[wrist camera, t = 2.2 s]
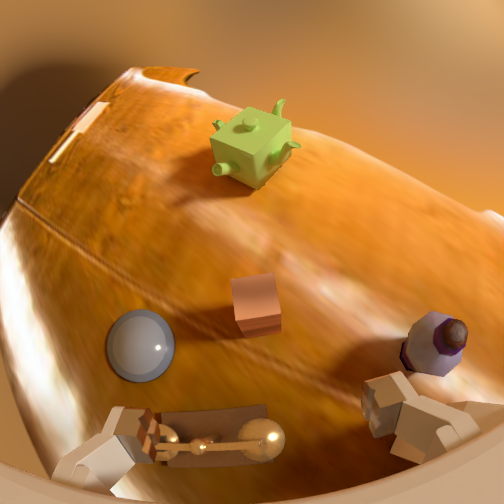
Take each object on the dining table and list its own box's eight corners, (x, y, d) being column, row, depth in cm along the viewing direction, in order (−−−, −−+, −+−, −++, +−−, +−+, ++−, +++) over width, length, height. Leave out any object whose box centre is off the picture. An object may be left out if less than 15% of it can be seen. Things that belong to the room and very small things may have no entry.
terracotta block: (281, 332, 40) (281, 313, 32) (244, 338, 40) (235, 320, 32) (275, 298, 43) (273, 272, 35) (240, 304, 43) (230, 279, 35)
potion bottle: (444, 375, 34) (492, 360, 23) (393, 389, 34) (433, 380, 24) (435, 320, 38) (476, 290, 28) (385, 330, 38) (419, 301, 28)
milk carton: (388, 452, 30) (461, 477, 13) (409, 405, 33) (491, 396, 16) (428, 462, 28) (511, 482, 11) (446, 417, 31) (535, 410, 14)
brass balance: (288, 457, 32) (291, 477, 22) (159, 465, 32) (121, 479, 22) (279, 402, 35) (279, 402, 26) (152, 412, 36) (113, 411, 26)
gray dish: (177, 380, 38) (175, 380, 37) (110, 383, 38) (107, 382, 37) (173, 307, 43) (171, 305, 42) (110, 314, 43) (107, 313, 43)
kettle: (285, 137, 59) (284, 92, 49) (305, 187, 52) (308, 139, 42) (213, 151, 58) (202, 107, 49) (221, 204, 52) (208, 157, 42)
